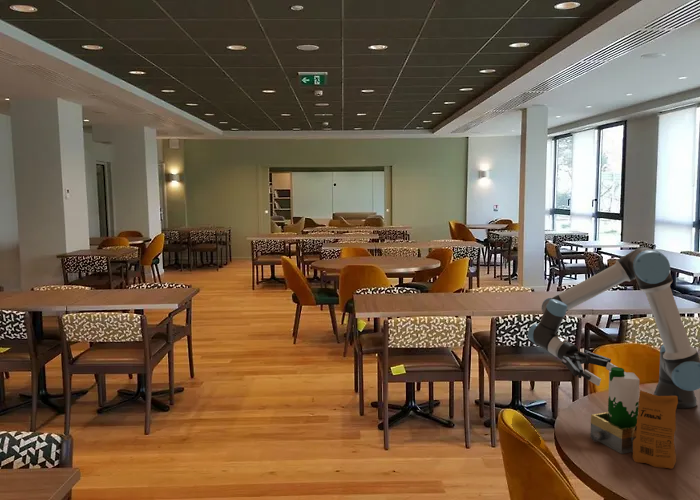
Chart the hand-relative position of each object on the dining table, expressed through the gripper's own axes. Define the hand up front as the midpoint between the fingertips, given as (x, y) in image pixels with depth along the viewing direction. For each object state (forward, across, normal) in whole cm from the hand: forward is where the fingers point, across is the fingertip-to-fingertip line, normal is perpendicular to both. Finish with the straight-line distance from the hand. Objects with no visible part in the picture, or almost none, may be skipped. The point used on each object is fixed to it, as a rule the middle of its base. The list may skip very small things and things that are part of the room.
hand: (611, 378), depth 212 cm
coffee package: (+28, +13, -11) cm, 32 cm away
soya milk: (+13, +8, -10) cm, 18 cm away
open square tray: (+14, +10, -14) cm, 22 cm away
